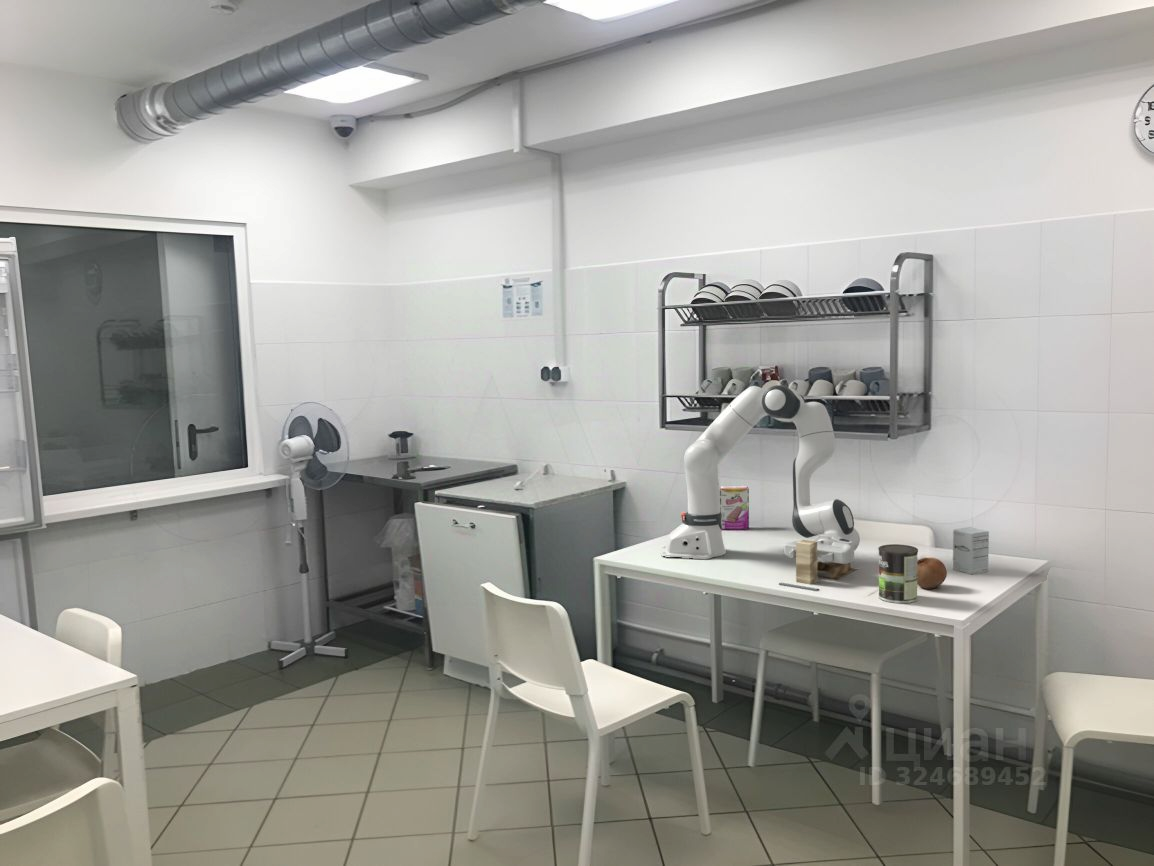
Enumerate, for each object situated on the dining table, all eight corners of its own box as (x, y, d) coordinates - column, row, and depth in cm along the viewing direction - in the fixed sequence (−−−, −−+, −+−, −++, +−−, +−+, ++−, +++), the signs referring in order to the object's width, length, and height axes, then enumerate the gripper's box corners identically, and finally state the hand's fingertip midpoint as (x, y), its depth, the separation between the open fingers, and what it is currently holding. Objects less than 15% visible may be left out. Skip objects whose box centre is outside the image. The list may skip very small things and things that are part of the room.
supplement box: (952, 569, 277) (952, 529, 276) (970, 566, 280) (970, 526, 279) (971, 574, 270) (971, 533, 269) (989, 571, 273) (989, 530, 272)
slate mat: (816, 590, 259) (816, 589, 259) (779, 584, 267) (778, 583, 267) (835, 581, 268) (835, 580, 268) (798, 576, 276) (798, 574, 276)
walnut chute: (836, 581, 268) (836, 571, 268) (800, 575, 276) (800, 565, 276) (858, 570, 279) (858, 561, 279) (823, 565, 287) (823, 556, 287)
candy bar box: (720, 530, 346) (719, 488, 344) (719, 527, 351) (718, 486, 349) (749, 530, 345) (749, 487, 343) (748, 527, 350) (747, 485, 348)
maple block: (810, 584, 264) (809, 544, 263) (796, 582, 267) (795, 542, 266) (817, 581, 267) (817, 541, 266) (803, 579, 270) (803, 539, 269)
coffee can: (885, 604, 244) (885, 553, 242) (873, 593, 254) (873, 544, 253) (923, 603, 244) (923, 552, 242) (910, 592, 254) (910, 543, 252)
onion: (920, 600, 256) (908, 571, 254) (916, 583, 265) (904, 555, 262) (954, 590, 253) (942, 561, 251) (949, 573, 262) (936, 544, 259)
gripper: (796, 534, 283) (774, 542, 272) (858, 542, 269) (837, 551, 259) (796, 553, 283) (774, 562, 273) (858, 562, 270) (837, 572, 259)
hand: (805, 557), depth 266 cm, fingers open, 8 cm apart
